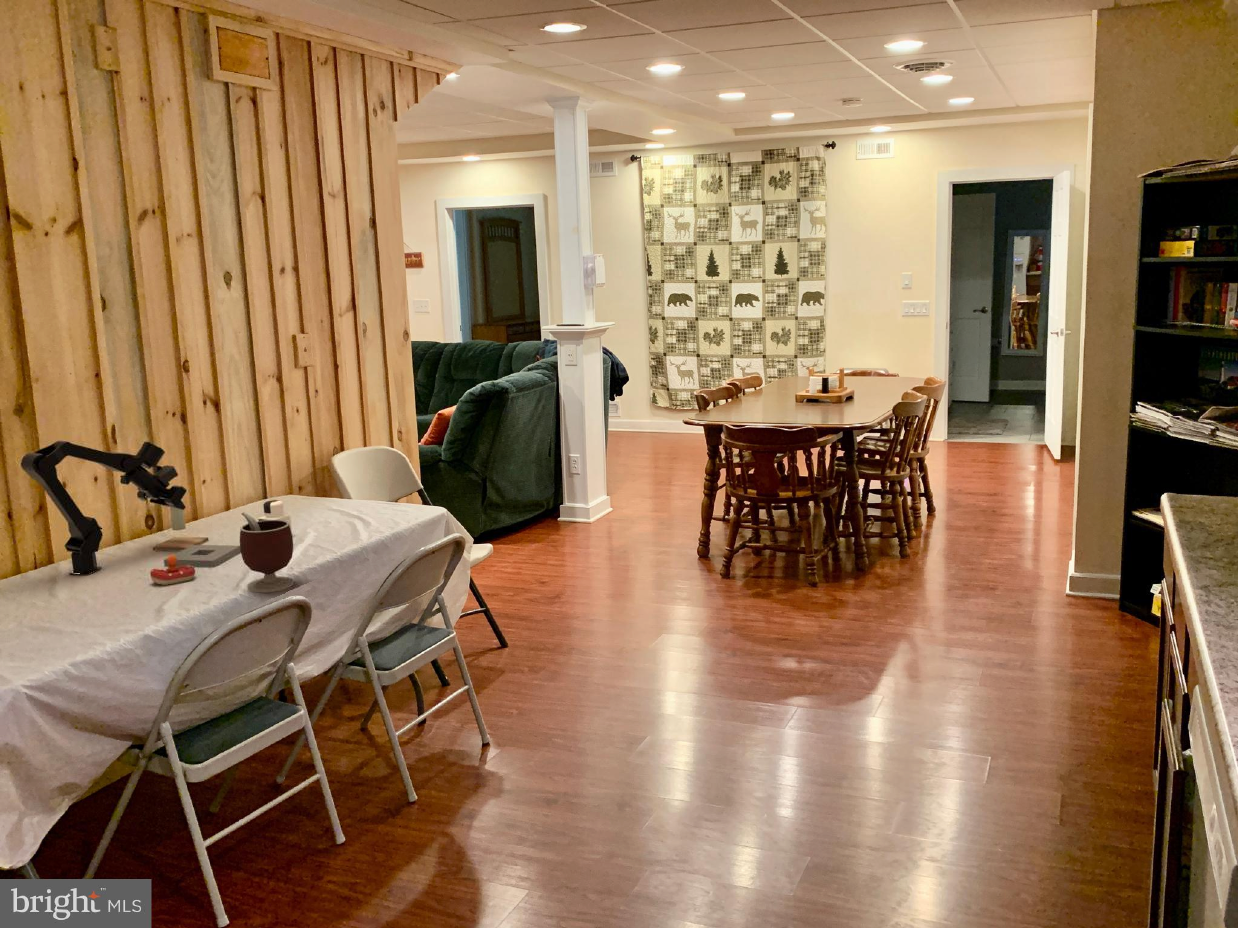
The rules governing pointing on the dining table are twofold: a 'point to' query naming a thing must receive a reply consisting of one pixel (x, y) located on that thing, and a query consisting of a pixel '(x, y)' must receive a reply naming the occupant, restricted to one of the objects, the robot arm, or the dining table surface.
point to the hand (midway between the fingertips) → (180, 507)
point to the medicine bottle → (275, 512)
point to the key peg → (177, 518)
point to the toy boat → (172, 573)
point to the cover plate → (205, 555)
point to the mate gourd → (266, 552)
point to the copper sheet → (180, 543)
